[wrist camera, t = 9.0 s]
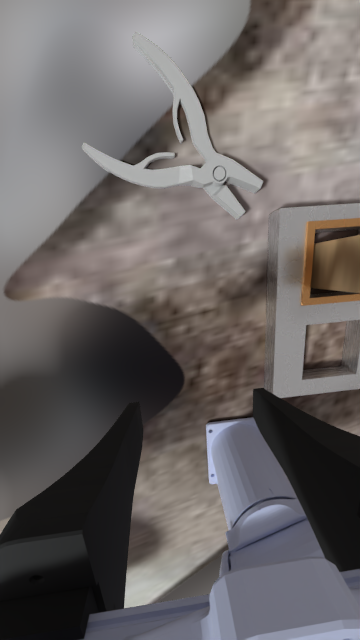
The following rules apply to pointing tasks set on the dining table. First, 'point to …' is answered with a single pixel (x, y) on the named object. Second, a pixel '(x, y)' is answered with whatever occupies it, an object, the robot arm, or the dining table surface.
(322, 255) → the peg
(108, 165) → the pliers
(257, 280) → the dining table surface
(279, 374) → the socket board
